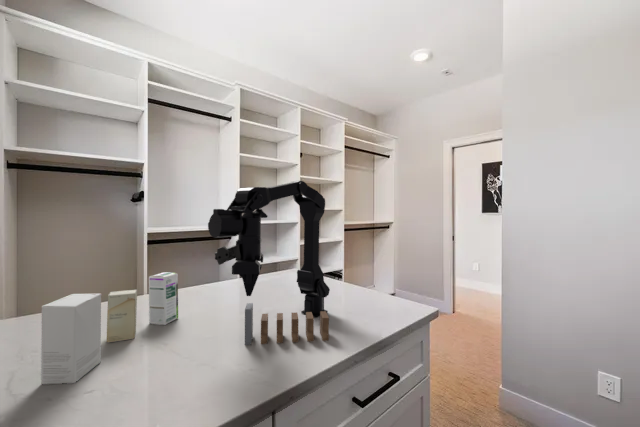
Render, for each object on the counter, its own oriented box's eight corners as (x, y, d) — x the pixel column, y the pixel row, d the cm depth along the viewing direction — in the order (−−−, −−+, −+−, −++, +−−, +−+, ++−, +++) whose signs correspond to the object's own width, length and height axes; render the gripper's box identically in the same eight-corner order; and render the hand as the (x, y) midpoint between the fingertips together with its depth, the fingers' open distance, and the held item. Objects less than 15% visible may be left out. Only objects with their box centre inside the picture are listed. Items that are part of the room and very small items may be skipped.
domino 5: (325, 332, 81) (325, 311, 81) (328, 340, 76) (328, 317, 76) (320, 332, 81) (320, 311, 81) (322, 340, 76) (322, 318, 76)
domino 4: (311, 333, 81) (311, 311, 81) (313, 341, 76) (313, 318, 76) (305, 333, 80) (305, 312, 80) (307, 341, 76) (307, 318, 75)
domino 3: (297, 334, 80) (297, 312, 80) (298, 342, 75) (298, 319, 75) (291, 334, 80) (291, 312, 80) (292, 342, 75) (292, 319, 75)
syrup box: (165, 325, 85) (165, 276, 85) (148, 323, 86) (148, 275, 86) (178, 318, 91) (178, 272, 91) (162, 317, 92) (162, 271, 92)
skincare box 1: (72, 363, 64) (72, 293, 64) (103, 362, 64) (104, 292, 64) (38, 386, 56) (38, 305, 55) (75, 384, 56) (75, 304, 56)
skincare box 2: (106, 343, 73) (106, 295, 73) (109, 336, 77) (109, 291, 77) (135, 338, 76) (135, 292, 76) (137, 332, 80) (137, 288, 80)
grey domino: (252, 336, 79) (252, 303, 78) (251, 344, 74) (251, 309, 74) (246, 336, 78) (246, 303, 78) (244, 344, 73) (244, 309, 73)
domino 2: (282, 334, 80) (282, 313, 80) (282, 342, 75) (283, 319, 75) (276, 335, 79) (276, 313, 79) (276, 343, 74) (276, 320, 74)
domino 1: (267, 335, 79) (268, 313, 79) (267, 343, 74) (267, 320, 74) (262, 335, 79) (262, 313, 79) (260, 344, 74) (260, 320, 74)
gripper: (224, 232, 84) (224, 286, 84) (209, 238, 65) (208, 307, 65) (263, 232, 85) (263, 285, 85) (259, 238, 67) (258, 305, 67)
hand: (249, 294), depth 76 cm, fingers closed
